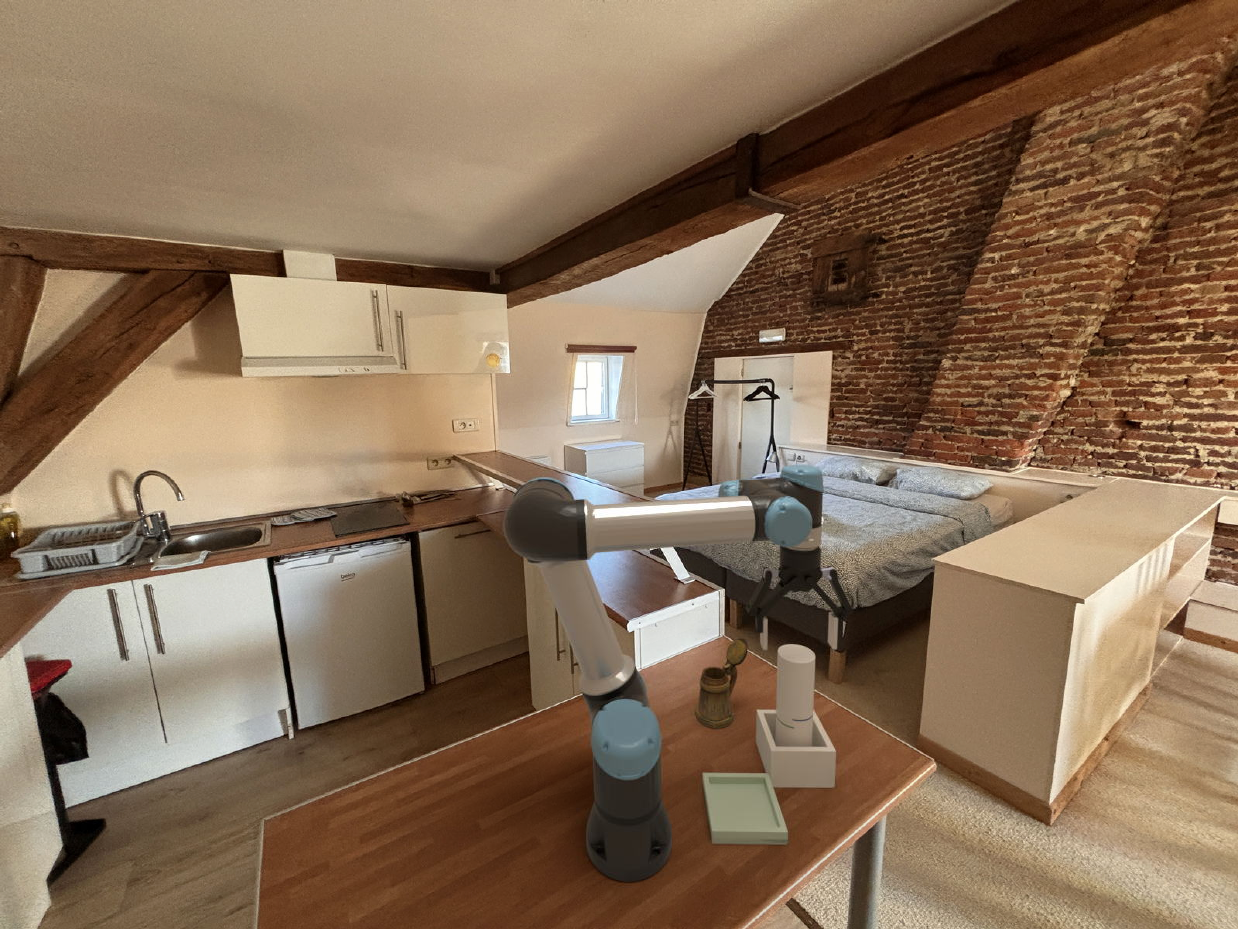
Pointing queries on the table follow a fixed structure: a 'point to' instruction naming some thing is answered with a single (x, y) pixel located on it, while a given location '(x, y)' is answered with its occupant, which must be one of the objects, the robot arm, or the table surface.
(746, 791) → the tray
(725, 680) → the wooden mug
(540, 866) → the table surface
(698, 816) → the table surface
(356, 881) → the table surface
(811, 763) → the hollow square frame
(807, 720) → the cylindrical container
